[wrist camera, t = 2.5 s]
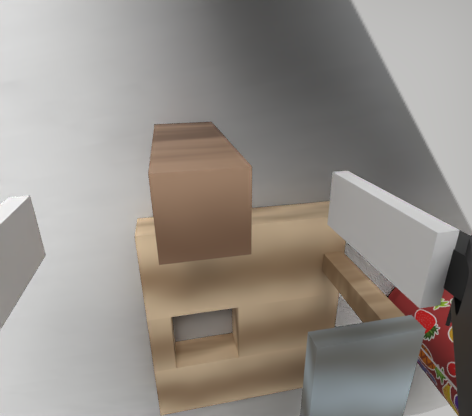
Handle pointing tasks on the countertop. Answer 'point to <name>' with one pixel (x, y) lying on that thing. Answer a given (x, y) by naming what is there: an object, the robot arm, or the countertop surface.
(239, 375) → the socket board
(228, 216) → the peg
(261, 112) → the countertop surface
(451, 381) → the smoothie
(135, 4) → the countertop surface
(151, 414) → the countertop surface
